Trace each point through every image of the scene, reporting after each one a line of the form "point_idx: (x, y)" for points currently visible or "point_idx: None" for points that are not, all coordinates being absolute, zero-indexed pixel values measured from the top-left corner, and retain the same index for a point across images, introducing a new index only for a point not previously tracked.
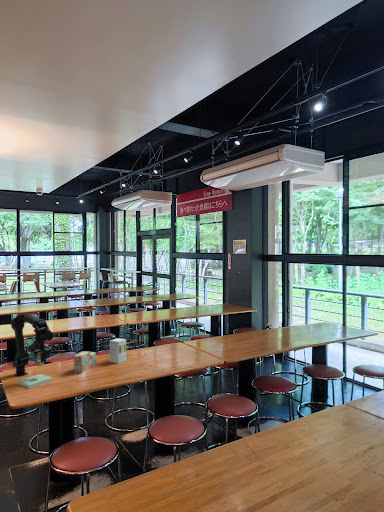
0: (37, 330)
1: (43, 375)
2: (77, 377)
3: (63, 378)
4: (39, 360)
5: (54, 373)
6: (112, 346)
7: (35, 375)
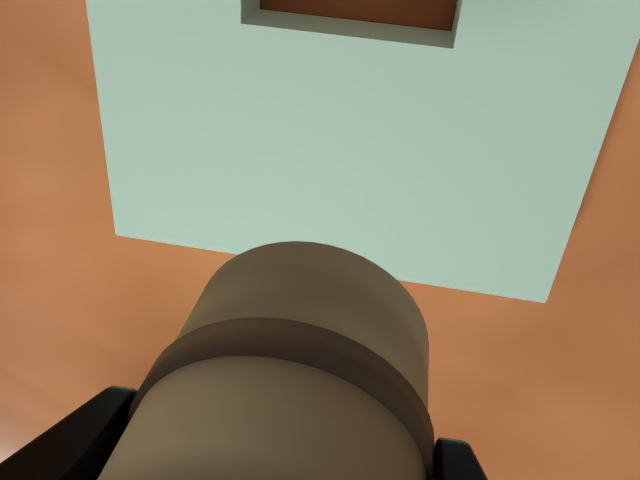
0: None
1: (393, 251)
2: (5, 417)
3: (108, 337)
4: (126, 453)
5: (439, 436)
6: None
7: (575, 182)
